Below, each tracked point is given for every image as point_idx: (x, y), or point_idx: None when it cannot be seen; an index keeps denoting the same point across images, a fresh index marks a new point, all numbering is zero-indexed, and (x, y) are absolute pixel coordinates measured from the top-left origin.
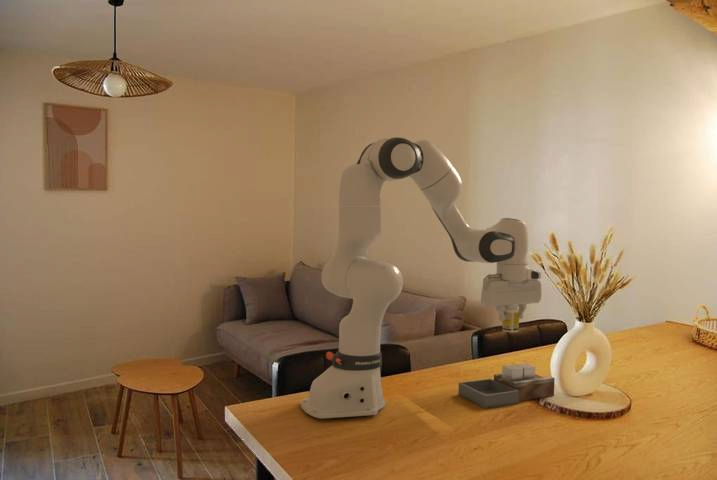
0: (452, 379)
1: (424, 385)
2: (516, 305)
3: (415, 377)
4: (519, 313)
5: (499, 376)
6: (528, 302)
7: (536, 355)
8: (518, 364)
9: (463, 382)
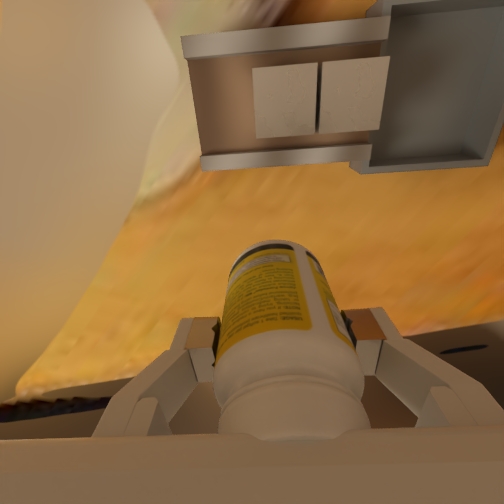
0: (370, 271)
1: (469, 252)
2: (276, 414)
3: (436, 305)
4: (203, 353)
5: (358, 144)
6: (54, 453)
7: (64, 356)
8: (298, 129)
9: (471, 164)
